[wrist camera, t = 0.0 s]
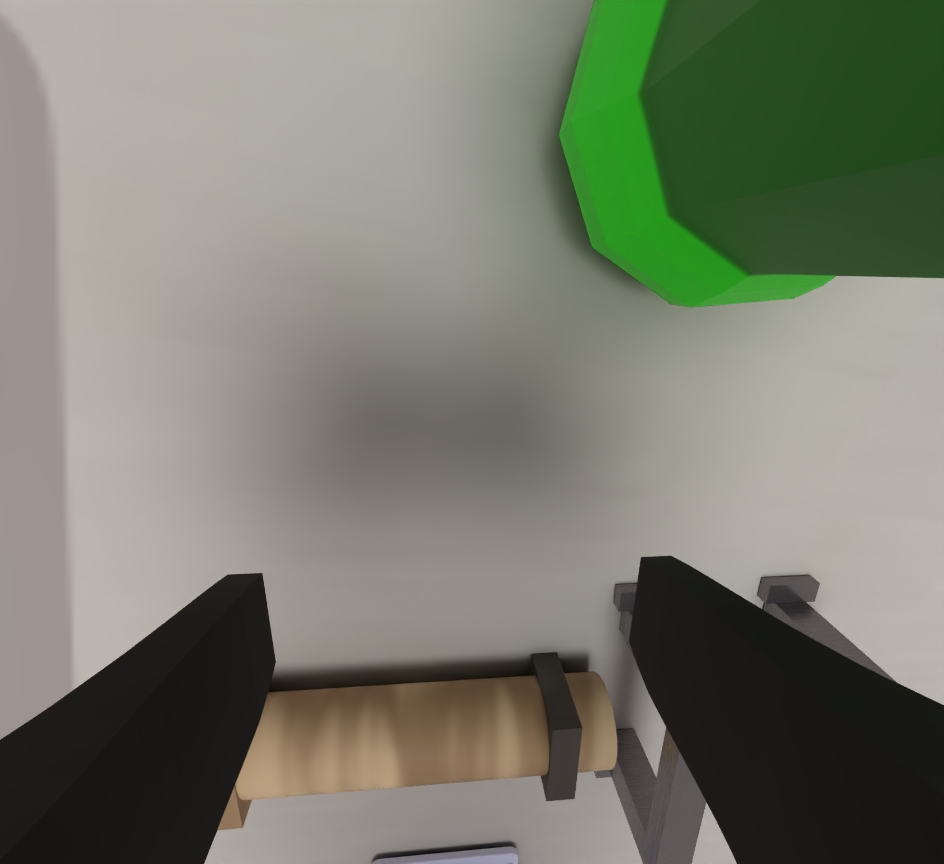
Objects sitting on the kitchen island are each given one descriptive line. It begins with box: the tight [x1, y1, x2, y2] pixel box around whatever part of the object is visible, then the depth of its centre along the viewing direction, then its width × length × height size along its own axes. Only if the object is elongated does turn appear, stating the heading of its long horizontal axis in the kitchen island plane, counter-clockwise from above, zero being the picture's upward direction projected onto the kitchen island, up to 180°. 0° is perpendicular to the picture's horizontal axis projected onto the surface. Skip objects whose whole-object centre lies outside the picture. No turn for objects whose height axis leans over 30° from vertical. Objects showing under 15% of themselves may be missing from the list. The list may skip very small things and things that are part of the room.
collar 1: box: [594, 584, 706, 864], centre depth 21 cm, size 11×2×6 cm, turn 179°
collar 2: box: [758, 575, 897, 683], centre depth 22 cm, size 11×4×6 cm, turn 179°
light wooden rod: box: [218, 652, 617, 830], centre depth 21 cm, size 18×4×4 cm, turn 89°
